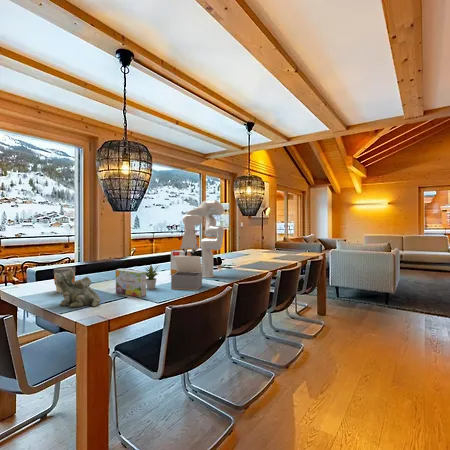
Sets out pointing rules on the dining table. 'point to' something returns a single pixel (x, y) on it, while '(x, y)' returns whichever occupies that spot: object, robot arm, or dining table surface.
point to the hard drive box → (173, 262)
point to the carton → (186, 280)
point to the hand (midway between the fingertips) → (189, 257)
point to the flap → (188, 263)
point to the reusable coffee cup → (60, 270)
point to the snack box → (131, 282)
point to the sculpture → (76, 290)
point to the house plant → (151, 277)
